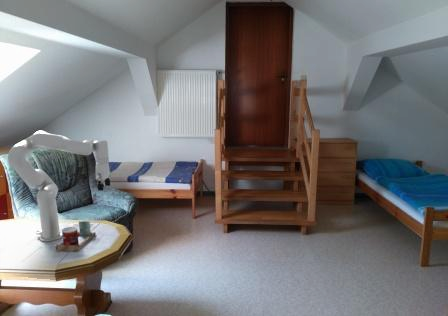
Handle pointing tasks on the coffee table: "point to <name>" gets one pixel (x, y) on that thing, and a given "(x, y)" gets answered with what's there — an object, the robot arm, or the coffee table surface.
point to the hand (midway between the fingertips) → (104, 187)
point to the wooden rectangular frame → (84, 231)
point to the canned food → (70, 236)
